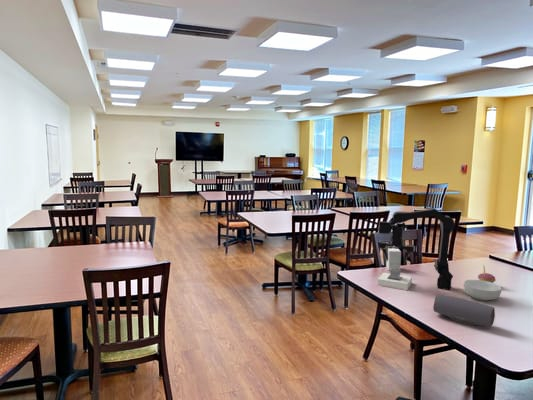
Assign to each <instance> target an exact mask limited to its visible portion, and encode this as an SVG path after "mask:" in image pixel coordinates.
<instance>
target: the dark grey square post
mask: <svg viewBox="0 0 533 400" xmlns="http://www.w3.org/2000/svg"><path fill="white" fill-rule="evenodd" d="M389 271H390V272H389V274H390V279H392V280H398V281H400V275H401V269H400V270H397V269H392V270H389Z"/></svg>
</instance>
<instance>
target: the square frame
mask: <svg viewBox="0 0 533 400" xmlns="http://www.w3.org/2000/svg"><path fill="white" fill-rule="evenodd" d="M412 283H413V276H408V275H401V274H400V281H398V280H392V279H390V272H389V273H388V272H382V274H381V275H380V276H379V277H378V278H377V286H381V287H387V288H392V289H397V290H398V289H399V290H403V291H404V290H405V291H408V290H409V288H410V286H411V285H412Z"/></svg>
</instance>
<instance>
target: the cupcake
mask: <svg viewBox="0 0 533 400" xmlns="http://www.w3.org/2000/svg"><path fill="white" fill-rule="evenodd" d="M477 280H482V281H487V282H491V283H495V282H496V277H495V276H494V275H493V274H491V273H487V272H486V268H485V265H484V264H483V273H480V274H478V275H477Z"/></svg>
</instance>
